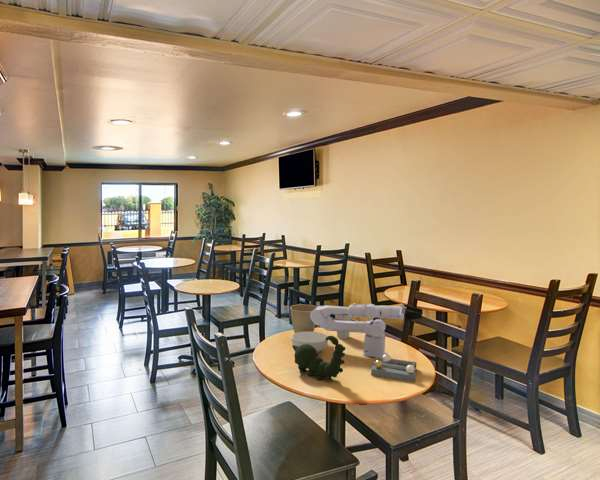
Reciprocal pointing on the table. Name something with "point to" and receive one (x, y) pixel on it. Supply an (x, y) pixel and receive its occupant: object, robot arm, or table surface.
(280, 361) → the table surface
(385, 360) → the steel ball
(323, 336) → the cereal bowl
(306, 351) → the toy figurine
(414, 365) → the grey divided tray
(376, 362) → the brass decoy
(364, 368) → the table surface
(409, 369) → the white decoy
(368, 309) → the robot arm
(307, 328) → the plant pot
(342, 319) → the coffee cup
